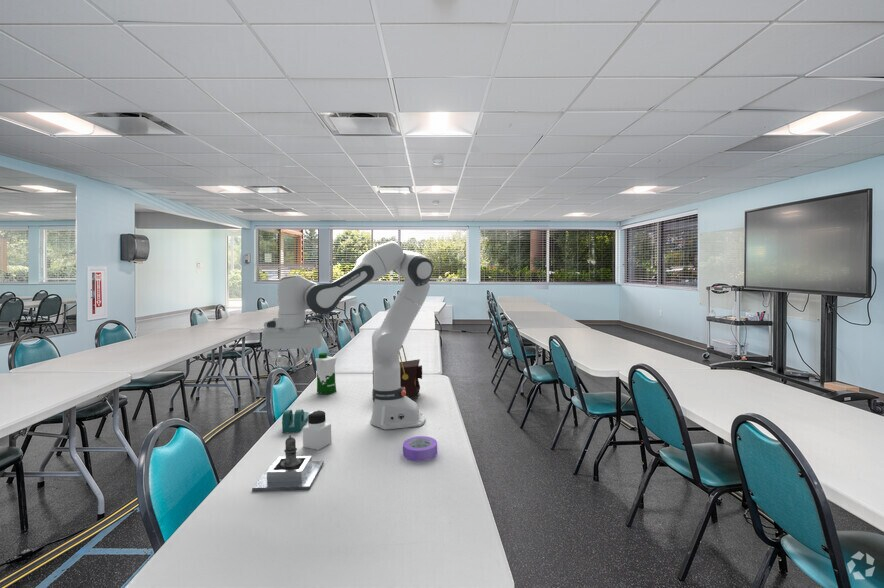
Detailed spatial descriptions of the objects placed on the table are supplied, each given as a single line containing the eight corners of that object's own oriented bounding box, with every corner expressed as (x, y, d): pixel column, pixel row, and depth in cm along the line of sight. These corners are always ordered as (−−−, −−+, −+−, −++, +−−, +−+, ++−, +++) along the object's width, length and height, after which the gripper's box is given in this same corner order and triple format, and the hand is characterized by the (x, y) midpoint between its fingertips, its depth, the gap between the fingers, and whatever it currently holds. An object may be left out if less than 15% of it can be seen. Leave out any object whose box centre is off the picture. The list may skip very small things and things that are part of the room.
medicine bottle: (331, 442, 149) (331, 410, 148) (318, 450, 142) (317, 416, 142) (316, 439, 152) (315, 407, 151) (302, 447, 145) (301, 413, 145)
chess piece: (296, 479, 121) (295, 439, 120) (277, 478, 121) (276, 438, 121) (305, 469, 126) (303, 431, 126) (286, 468, 127) (285, 430, 126)
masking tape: (420, 465, 131) (419, 453, 131) (395, 454, 139) (395, 443, 139) (444, 453, 140) (444, 442, 140) (420, 443, 148) (420, 433, 148)
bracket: (300, 432, 160) (299, 412, 159) (282, 433, 159) (281, 413, 159) (310, 416, 177) (310, 398, 177) (294, 417, 177) (294, 399, 176)
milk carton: (327, 388, 220) (326, 351, 219) (339, 391, 215) (338, 353, 214) (314, 393, 212) (313, 354, 211) (326, 395, 207) (325, 356, 206)
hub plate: (323, 463, 132) (323, 451, 132) (309, 489, 116) (309, 475, 116) (273, 465, 132) (273, 452, 132) (252, 491, 116) (251, 477, 116)
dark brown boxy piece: (420, 401, 196) (419, 349, 194) (372, 402, 196) (371, 350, 195) (422, 391, 212) (422, 343, 211) (377, 392, 212) (377, 344, 211)
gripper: (324, 320, 146) (325, 358, 147) (266, 321, 145) (267, 359, 146) (319, 322, 140) (321, 362, 141) (258, 323, 139) (260, 363, 140)
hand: (293, 361), depth 143 cm, fingers open, 8 cm apart
